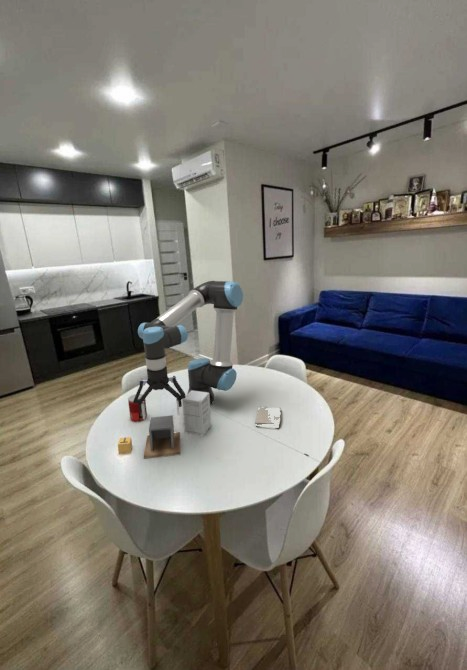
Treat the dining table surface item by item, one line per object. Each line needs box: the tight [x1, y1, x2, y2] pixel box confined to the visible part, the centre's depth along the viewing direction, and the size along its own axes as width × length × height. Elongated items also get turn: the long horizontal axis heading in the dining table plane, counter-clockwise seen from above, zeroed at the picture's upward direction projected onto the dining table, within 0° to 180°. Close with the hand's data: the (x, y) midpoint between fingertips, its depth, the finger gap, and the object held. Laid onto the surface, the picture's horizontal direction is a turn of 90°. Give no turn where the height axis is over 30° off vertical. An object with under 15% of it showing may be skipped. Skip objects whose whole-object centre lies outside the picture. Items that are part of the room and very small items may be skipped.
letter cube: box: [117, 436, 133, 455], centre depth 123 cm, size 4×4×5 cm
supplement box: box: [181, 390, 212, 437], centre depth 136 cm, size 10×9×17 cm
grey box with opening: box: [148, 415, 175, 451], centre depth 124 cm, size 9×9×10 cm
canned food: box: [127, 393, 148, 423], centre depth 146 cm, size 8×8×11 cm
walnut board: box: [143, 431, 181, 459], centre depth 126 cm, size 14×14×1 cm
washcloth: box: [254, 406, 280, 425], centre depth 146 cm, size 12×18×3 cm, turn 171°
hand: (161, 415), depth 123 cm, fingers open, 13 cm apart
